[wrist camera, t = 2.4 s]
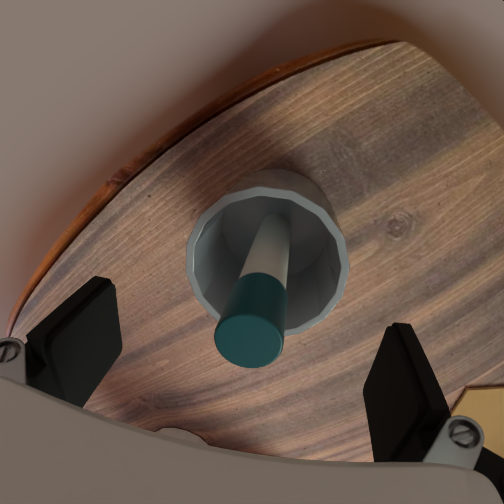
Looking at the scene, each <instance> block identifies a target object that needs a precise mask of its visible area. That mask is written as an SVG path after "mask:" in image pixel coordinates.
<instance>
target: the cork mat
mask: <svg viewBox="0 0 504 504" xmlns="http://www.w3.org/2000/svg"><path fill="white" fill-rule="evenodd" d="M450 414H451V416H456V415H462V416H467V417H469V418H472V419H473V420H475V421H476V422H477V423H478V424H479V425H480V426H481V428H482V430H483V432H484V437H485V439H484V444H483V446H484V447H485V448H487V449H489V450H490V451H492V452H494V453H495V454H497V455H499V456H501V457H502V458H504V386H496V387H478V388H466V389H465V391H464V393H463V394H462V396H461V397H460V399H459V401H458V402H457V404H456V405H455V407H454V408H453V410H452V411H451V413H450Z"/></svg>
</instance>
